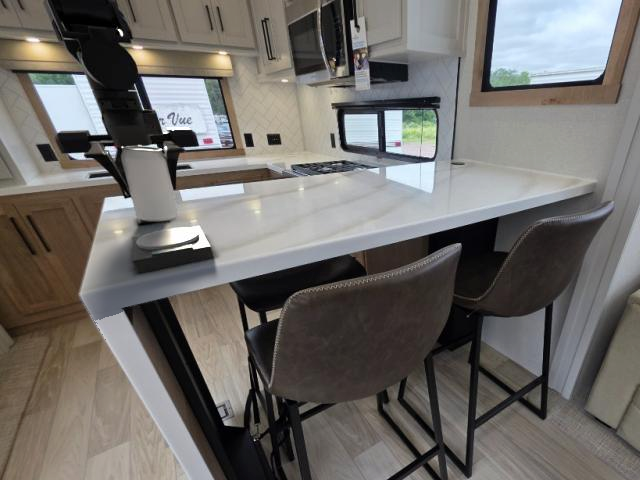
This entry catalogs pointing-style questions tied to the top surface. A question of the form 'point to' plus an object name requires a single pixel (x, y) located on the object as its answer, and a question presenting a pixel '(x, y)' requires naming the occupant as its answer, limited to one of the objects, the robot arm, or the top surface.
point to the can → (149, 183)
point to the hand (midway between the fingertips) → (152, 191)
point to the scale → (170, 248)
